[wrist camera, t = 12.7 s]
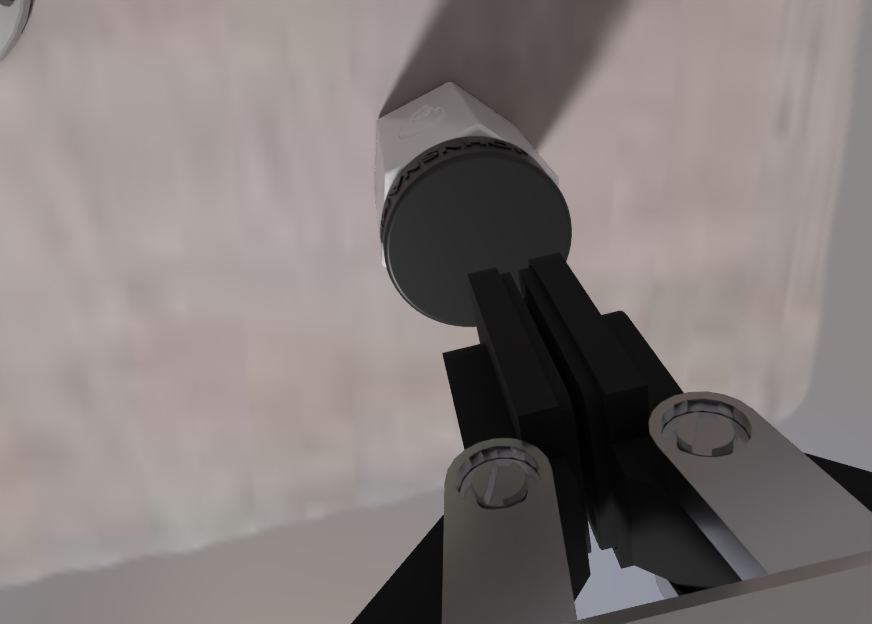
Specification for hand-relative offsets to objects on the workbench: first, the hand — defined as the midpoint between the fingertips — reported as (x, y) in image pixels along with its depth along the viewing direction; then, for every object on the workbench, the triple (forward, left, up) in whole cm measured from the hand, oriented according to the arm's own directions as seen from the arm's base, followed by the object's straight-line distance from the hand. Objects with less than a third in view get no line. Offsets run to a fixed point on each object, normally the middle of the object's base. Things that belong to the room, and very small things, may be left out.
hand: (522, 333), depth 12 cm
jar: (+4, -4, -27) cm, 28 cm away
